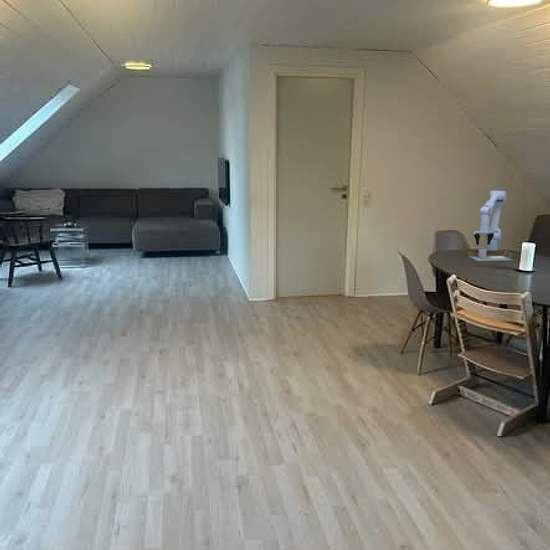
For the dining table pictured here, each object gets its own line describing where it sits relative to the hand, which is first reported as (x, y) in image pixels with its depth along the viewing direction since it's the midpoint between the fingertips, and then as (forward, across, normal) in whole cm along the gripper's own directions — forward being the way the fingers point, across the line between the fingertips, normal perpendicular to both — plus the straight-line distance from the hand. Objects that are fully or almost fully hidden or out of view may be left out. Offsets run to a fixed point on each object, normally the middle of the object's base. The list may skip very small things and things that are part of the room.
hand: (482, 244), depth 377 cm
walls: (+9, +6, -1) cm, 11 cm away
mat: (+9, +6, -1) cm, 11 cm away
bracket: (+9, 0, -4) cm, 10 cm away
